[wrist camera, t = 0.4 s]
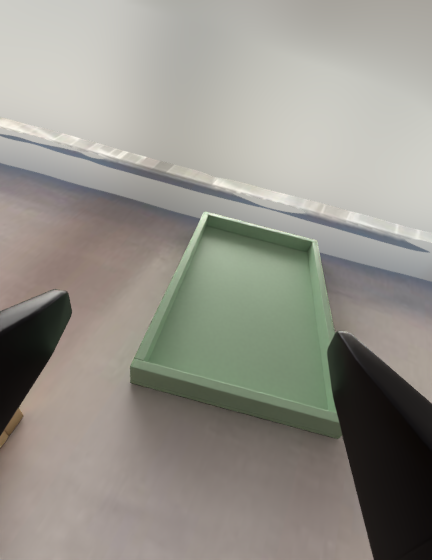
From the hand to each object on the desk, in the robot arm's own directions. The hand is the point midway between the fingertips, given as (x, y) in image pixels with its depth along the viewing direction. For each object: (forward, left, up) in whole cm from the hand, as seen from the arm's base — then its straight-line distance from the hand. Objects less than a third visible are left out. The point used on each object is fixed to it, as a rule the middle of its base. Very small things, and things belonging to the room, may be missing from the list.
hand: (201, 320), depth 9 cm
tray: (+19, -4, -15) cm, 24 cm away
